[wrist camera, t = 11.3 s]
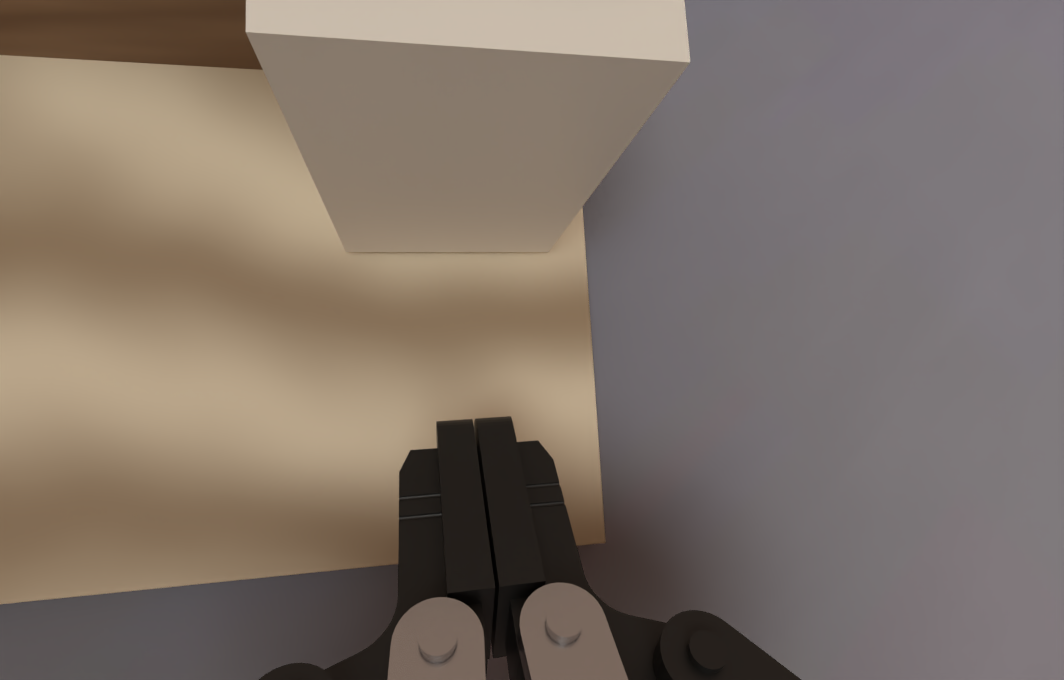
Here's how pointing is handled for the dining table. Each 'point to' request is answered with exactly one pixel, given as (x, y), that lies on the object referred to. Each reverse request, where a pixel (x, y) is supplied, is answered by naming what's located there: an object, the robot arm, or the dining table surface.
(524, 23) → the key two
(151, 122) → the console
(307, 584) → the dining table surface
